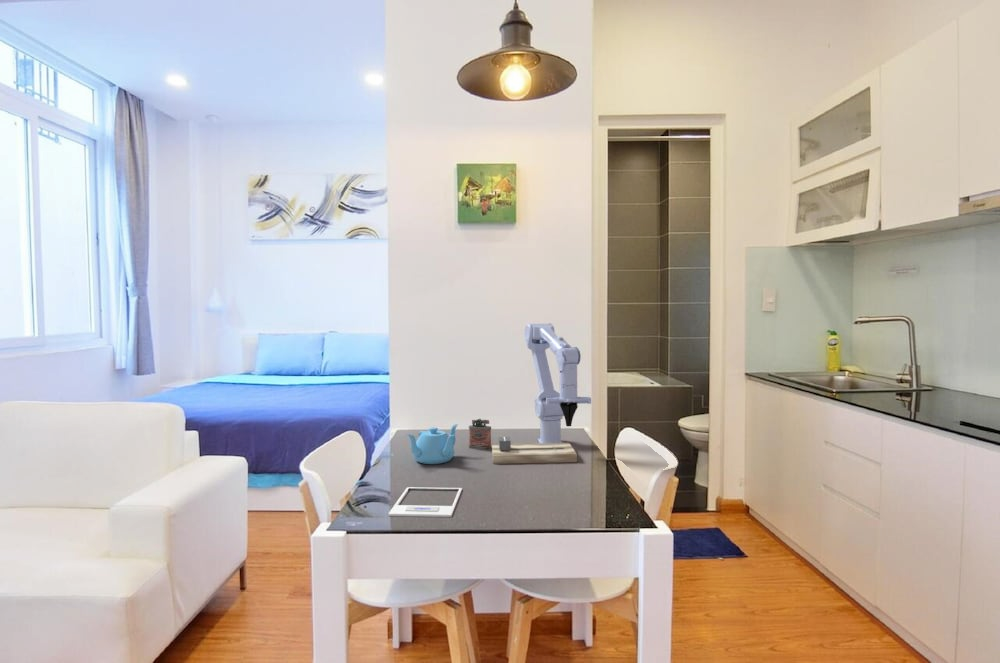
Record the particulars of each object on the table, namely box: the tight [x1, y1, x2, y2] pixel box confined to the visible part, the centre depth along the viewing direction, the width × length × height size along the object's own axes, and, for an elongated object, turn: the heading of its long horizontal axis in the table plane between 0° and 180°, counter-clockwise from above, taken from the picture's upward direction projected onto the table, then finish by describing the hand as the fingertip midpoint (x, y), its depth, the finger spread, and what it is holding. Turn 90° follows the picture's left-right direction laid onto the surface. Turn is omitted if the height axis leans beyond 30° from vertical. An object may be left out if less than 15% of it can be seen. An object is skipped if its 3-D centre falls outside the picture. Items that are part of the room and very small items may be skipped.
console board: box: [491, 442, 578, 465], centre depth 165 cm, size 14×26×3 cm, turn 92°
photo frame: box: [387, 486, 463, 518], centre depth 126 cm, size 15×1×18 cm
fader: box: [498, 436, 512, 450], centre depth 165 cm, size 5×4×3 cm
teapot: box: [406, 423, 459, 465], centre depth 163 cm, size 15×15×10 cm
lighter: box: [468, 418, 492, 451], centre depth 177 cm, size 8×3×10 cm, turn 73°
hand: (568, 425), depth 168 cm, fingers closed
